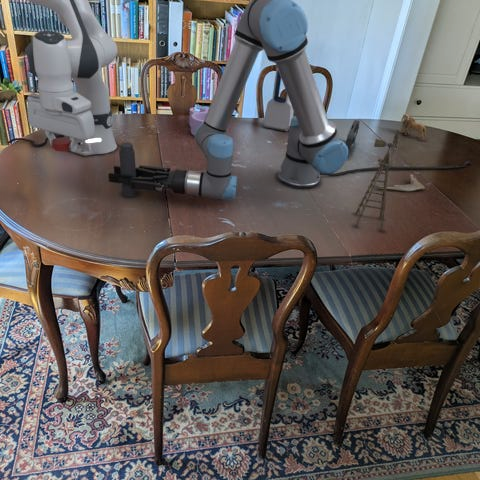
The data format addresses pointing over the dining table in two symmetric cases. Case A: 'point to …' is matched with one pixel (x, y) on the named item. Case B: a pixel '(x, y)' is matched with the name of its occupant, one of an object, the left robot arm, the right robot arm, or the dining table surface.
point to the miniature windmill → (382, 163)
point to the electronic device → (278, 109)
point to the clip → (197, 118)
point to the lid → (61, 144)
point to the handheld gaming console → (352, 136)
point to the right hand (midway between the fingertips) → (111, 173)
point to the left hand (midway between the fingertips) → (63, 148)
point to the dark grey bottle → (127, 167)
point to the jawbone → (414, 185)
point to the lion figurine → (413, 126)
